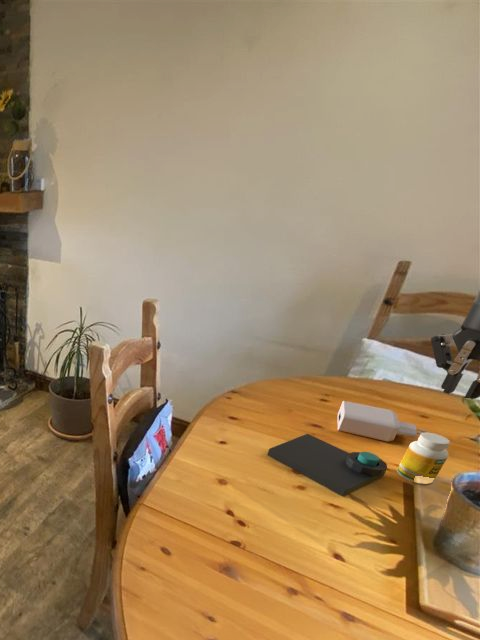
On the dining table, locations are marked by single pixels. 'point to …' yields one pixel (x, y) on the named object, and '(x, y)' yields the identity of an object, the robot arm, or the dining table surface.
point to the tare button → (368, 458)
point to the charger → (373, 422)
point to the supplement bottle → (424, 457)
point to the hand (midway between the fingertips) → (458, 395)
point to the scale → (327, 464)
